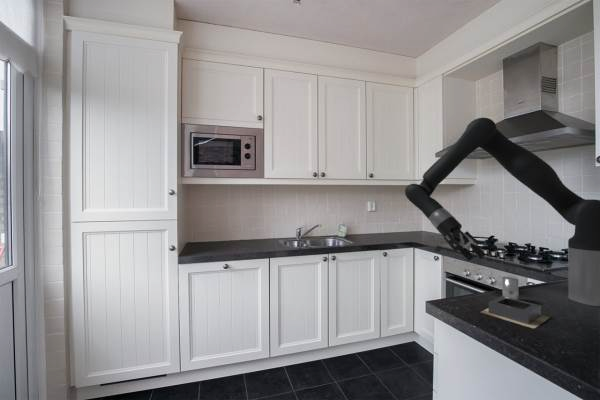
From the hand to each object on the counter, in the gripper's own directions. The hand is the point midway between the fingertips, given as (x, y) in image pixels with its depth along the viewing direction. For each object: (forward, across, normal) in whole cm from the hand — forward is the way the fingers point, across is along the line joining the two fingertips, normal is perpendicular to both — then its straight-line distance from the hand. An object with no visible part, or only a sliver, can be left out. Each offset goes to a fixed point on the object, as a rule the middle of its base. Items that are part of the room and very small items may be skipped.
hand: (477, 257), depth 94 cm
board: (+19, -12, -1) cm, 23 cm away
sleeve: (+19, -12, -2) cm, 22 cm away
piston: (+16, 0, +2) cm, 16 cm away
